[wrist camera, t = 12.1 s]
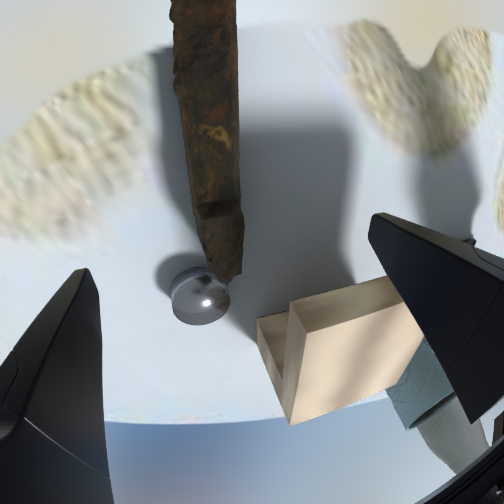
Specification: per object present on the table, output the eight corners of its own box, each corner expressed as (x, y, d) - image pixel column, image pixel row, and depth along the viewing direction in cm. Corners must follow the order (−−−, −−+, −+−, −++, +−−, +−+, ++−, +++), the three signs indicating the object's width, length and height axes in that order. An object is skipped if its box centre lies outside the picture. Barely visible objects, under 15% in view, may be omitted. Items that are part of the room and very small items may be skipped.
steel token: (205, 256, 23) (210, 272, 22) (233, 290, 26) (240, 306, 25) (158, 285, 24) (160, 303, 22) (190, 315, 26) (194, 332, 25)
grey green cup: (371, 345, 39) (416, 415, 30) (428, 316, 40) (474, 375, 31) (365, 378, 46) (399, 438, 36) (414, 352, 47) (451, 405, 37)
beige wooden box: (377, 214, 26) (449, 284, 18) (351, 317, 33) (395, 384, 26) (254, 236, 23) (307, 333, 16) (256, 344, 31) (289, 425, 24)
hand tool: (162, -14, 12) (164, -35, 8) (233, -15, 13) (256, -34, 9) (179, 262, 23) (186, 306, 20) (231, 254, 24) (248, 296, 20)
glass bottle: (410, 380, 55) (473, 483, 33) (380, 386, 51) (449, 506, 29) (441, 347, 51) (514, 455, 29) (414, 350, 46) (496, 478, 24)
